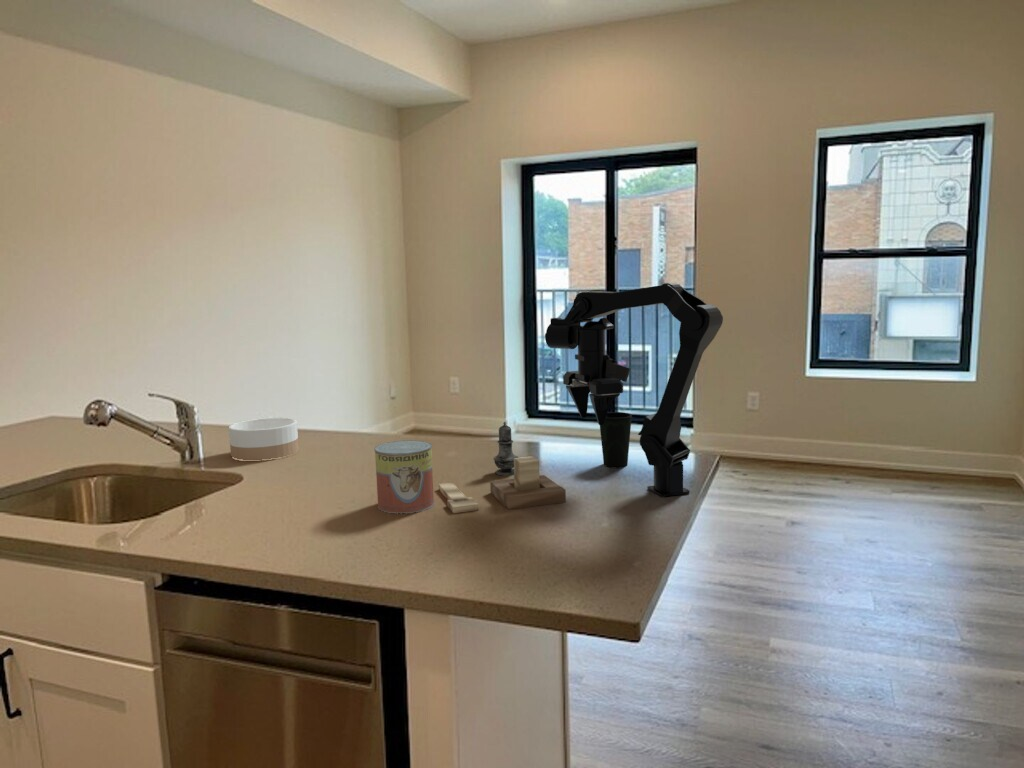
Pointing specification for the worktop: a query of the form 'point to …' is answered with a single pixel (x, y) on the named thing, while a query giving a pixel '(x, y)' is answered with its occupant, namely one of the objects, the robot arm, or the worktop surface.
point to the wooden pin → (526, 473)
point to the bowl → (263, 438)
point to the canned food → (404, 476)
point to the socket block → (527, 493)
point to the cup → (616, 439)
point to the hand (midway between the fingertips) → (592, 421)
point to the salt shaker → (505, 452)
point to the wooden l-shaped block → (457, 499)
